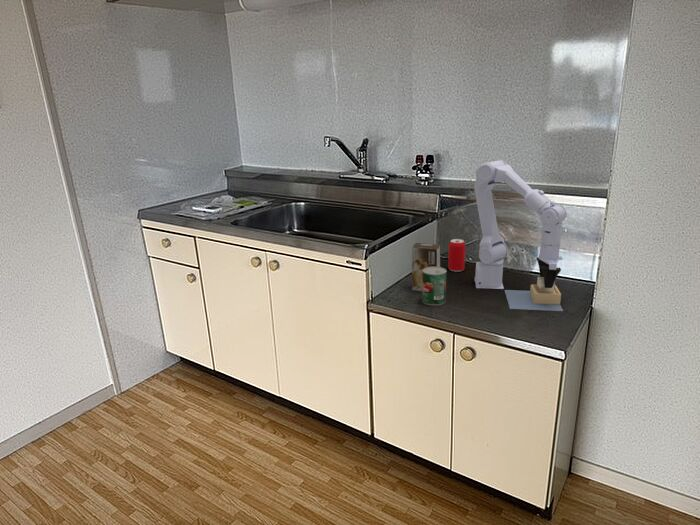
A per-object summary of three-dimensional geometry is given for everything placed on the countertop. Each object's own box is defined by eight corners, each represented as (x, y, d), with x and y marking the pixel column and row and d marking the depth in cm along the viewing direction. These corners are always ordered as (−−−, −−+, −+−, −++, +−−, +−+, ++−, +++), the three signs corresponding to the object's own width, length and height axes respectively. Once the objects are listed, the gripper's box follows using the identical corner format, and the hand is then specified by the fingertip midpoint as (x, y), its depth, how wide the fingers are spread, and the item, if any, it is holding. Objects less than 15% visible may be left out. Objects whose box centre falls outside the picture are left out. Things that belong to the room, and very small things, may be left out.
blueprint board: (509, 310, 155) (510, 298, 154) (504, 291, 170) (505, 280, 169) (563, 312, 152) (564, 300, 151) (552, 293, 167) (554, 282, 166)
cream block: (538, 294, 159) (540, 281, 157) (536, 289, 163) (537, 276, 161) (553, 295, 158) (554, 282, 156) (550, 289, 162) (552, 277, 161)
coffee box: (440, 286, 176) (441, 244, 171) (436, 293, 171) (437, 249, 165) (415, 284, 180) (416, 242, 174) (411, 290, 174) (411, 247, 169)
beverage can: (463, 267, 195) (464, 238, 191) (465, 272, 189) (466, 242, 185) (447, 267, 196) (448, 238, 192) (448, 272, 190) (449, 243, 186)
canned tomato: (417, 301, 164) (417, 270, 161) (431, 294, 170) (431, 264, 166) (436, 307, 159) (437, 276, 156) (450, 300, 164) (451, 269, 161)
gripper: (569, 250, 148) (564, 292, 152) (558, 237, 161) (554, 275, 165) (544, 249, 149) (540, 291, 153) (536, 236, 162) (532, 275, 167)
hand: (546, 283), depth 159 cm, fingers open, 7 cm apart
